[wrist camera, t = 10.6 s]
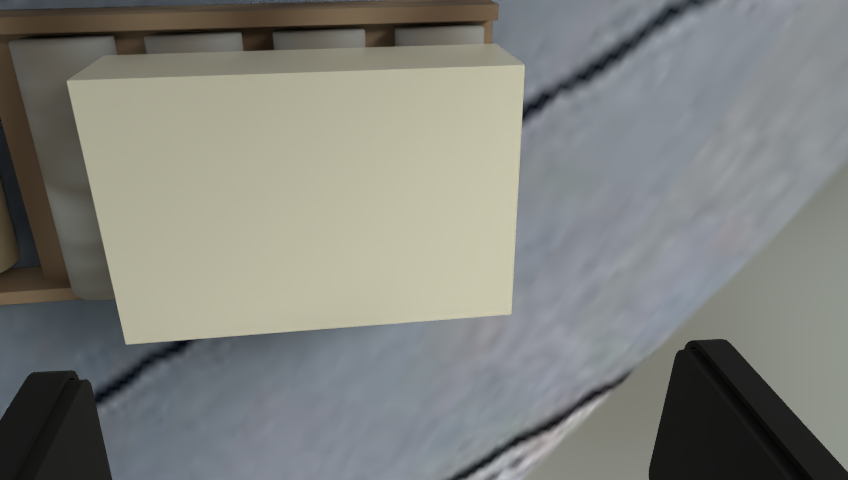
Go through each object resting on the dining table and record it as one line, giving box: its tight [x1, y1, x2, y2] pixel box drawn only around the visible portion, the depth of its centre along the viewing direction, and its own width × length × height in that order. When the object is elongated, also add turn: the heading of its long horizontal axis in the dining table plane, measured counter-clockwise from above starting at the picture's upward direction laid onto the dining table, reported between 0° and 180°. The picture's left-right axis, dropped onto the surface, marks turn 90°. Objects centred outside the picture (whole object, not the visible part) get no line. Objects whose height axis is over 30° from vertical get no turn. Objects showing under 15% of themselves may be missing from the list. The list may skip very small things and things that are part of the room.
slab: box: [67, 44, 525, 345], centre depth 22 cm, size 12×8×4 cm, turn 90°
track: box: [0, 0, 498, 305], centre depth 23 cm, size 28×10×6 cm, turn 91°
